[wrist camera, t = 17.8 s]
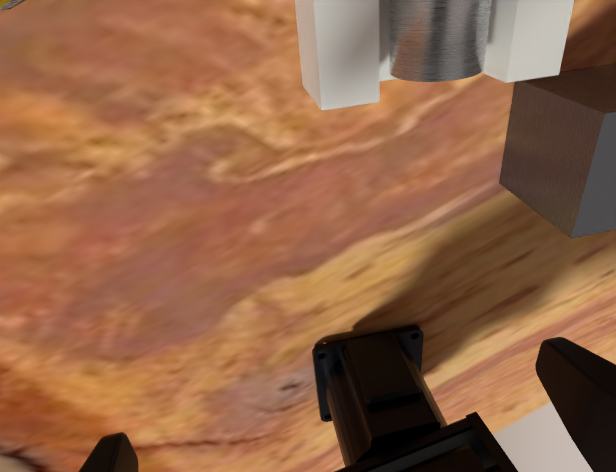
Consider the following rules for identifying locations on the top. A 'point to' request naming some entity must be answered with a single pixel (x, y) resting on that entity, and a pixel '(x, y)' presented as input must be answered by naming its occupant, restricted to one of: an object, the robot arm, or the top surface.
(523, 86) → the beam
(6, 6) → the supplement bottle
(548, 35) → the cradle
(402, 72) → the axle
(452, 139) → the top surface
